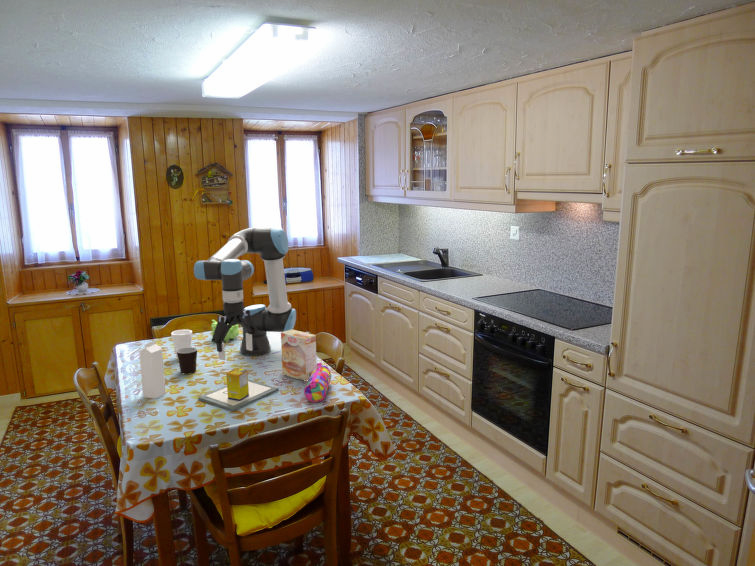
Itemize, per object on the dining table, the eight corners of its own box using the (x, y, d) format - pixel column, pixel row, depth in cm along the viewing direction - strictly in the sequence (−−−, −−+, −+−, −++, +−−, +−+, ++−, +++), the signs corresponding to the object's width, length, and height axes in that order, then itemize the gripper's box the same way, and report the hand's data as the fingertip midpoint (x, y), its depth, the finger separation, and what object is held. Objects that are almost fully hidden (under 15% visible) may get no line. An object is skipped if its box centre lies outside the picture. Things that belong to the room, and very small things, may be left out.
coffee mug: (192, 375, 232) (190, 353, 230) (174, 374, 233) (172, 352, 231) (205, 366, 243) (204, 345, 241) (188, 365, 245) (187, 344, 243)
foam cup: (168, 359, 252) (166, 333, 250) (182, 354, 261) (180, 328, 258) (184, 362, 249) (182, 335, 246) (198, 356, 257) (196, 330, 255)
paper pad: (244, 380, 226) (244, 377, 226) (278, 390, 215) (278, 387, 215) (198, 399, 206) (198, 396, 206) (233, 411, 195) (232, 408, 195)
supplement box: (236, 393, 209) (235, 367, 207) (249, 395, 207) (248, 369, 205) (227, 399, 203) (225, 372, 201) (240, 401, 201) (238, 374, 199)
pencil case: (309, 382, 224) (308, 362, 222) (331, 382, 224) (331, 362, 222) (303, 404, 202) (303, 381, 201) (328, 403, 203) (327, 381, 201)
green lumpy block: (212, 344, 276) (211, 323, 274) (210, 337, 289) (209, 317, 287) (241, 341, 281) (240, 321, 279) (238, 334, 294) (237, 315, 292)
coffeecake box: (281, 374, 233) (280, 332, 229) (293, 370, 238) (292, 328, 235) (305, 382, 224) (304, 338, 220) (317, 377, 229) (316, 334, 226)
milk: (143, 397, 208) (137, 343, 204) (153, 391, 214) (149, 339, 210) (155, 399, 207) (150, 345, 202) (166, 393, 212) (161, 340, 208)
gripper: (213, 308, 186) (216, 365, 190) (264, 296, 206) (266, 347, 210) (199, 305, 190) (203, 361, 194) (251, 293, 210) (253, 344, 214)
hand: (236, 354), depth 202 cm, fingers open, 13 cm apart
